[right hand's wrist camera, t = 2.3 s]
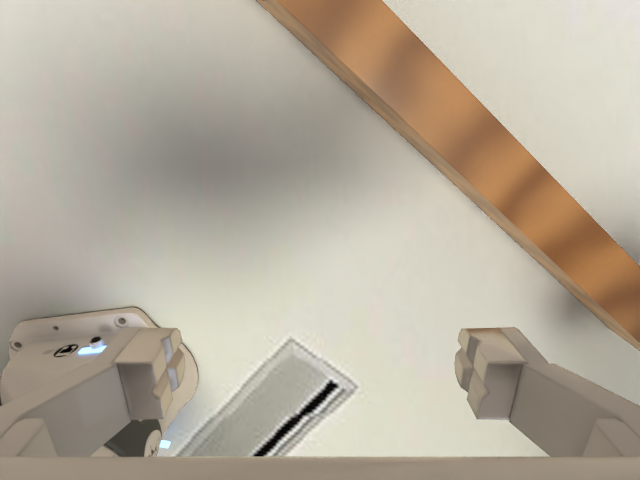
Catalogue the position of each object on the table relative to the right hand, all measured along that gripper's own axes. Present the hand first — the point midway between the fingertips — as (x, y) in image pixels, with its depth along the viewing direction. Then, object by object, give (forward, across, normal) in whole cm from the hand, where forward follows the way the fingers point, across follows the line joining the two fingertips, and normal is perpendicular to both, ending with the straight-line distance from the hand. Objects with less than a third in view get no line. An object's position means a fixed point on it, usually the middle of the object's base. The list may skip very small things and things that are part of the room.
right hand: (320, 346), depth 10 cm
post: (+29, +12, +4) cm, 32 cm away
